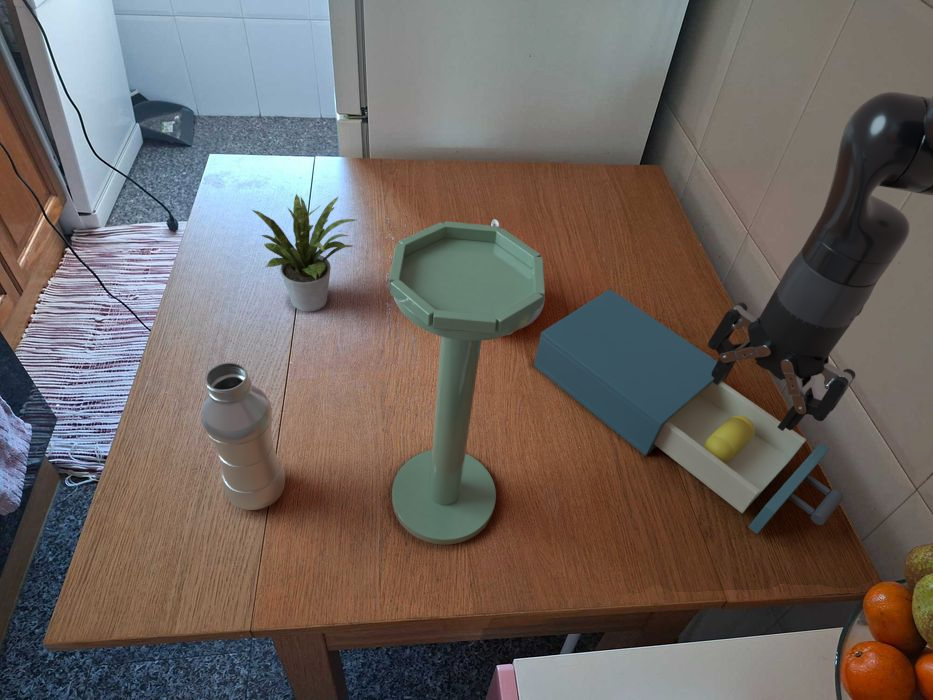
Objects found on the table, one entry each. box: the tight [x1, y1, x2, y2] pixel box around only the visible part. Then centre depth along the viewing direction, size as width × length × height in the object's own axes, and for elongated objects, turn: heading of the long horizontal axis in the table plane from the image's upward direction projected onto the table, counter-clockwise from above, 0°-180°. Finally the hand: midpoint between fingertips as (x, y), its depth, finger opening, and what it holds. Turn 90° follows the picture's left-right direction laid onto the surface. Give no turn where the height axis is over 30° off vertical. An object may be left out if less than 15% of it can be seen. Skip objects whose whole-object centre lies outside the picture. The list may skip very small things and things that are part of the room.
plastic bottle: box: [200, 362, 286, 511], centre depth 67 cm, size 6×7×20 cm
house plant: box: [251, 193, 357, 313], centre depth 91 cm, size 14×14×16 cm
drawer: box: [654, 381, 844, 535], centre depth 79 cm, size 23×14×5 cm, turn 42°
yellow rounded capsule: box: [704, 416, 755, 463], centre depth 80 cm, size 8×4×4 cm, turn 132°
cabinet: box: [533, 288, 718, 457], centre depth 88 cm, size 20×15×7 cm
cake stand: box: [388, 220, 546, 546], centre depth 63 cm, size 12×12×34 cm
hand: (750, 402), depth 75 cm, fingers open, 8 cm apart
